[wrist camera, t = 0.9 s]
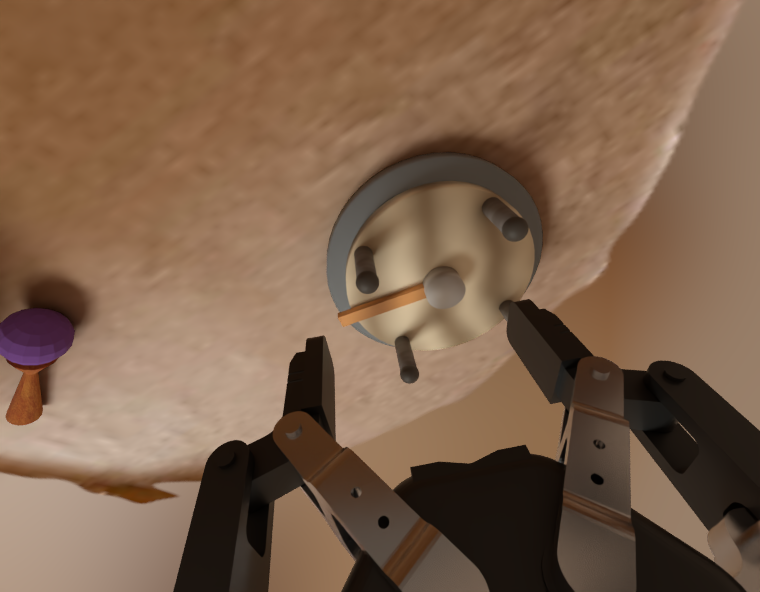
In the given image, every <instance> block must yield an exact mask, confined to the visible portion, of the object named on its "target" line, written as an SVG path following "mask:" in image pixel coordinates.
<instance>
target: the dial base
mask: <svg viewBox="0 0 760 592" xmlns="http://www.w3.org/2000/svg"><path fill="white" fill-rule="evenodd" d="M439 181H460V182H468V183H472V184H476V185H479V186H482V187H484V188H487V189H489V190H491V191H493V192H494V193H496V194H498V195H499V196H501V197H502V198H503V199H504V200H505V201H506V202H508V203H509V204H510V205H511V206H512V207H513V208H515V209H516V210H517V211H518V212H519V214H520V215H521V216H522V217H523V219H525V220H526V222H527V223H528V227H529V229H530V232H531V235H532V238H533V243H534V249H535V260H534V267H533V272H532V275H531V279H530V282H529V284H528V286H529V285H530V283H531V281H532V279H533V277H534V275H535V273H536V270H537V267H538V264H539V261H540V257H541V251H542V238H543V232H542V225H541V219H540V216H539V213H538V210H537V207H536V205H535V203H534V201H533V199H532V198H531V196H530V195H529V193H528V192H527V191H526V189H525V188H524V187H523V186H522V185H521V184H520V183H519V182H518V181H517V180H516V179H515V178H514V177H512V176H511V175H509V174H508V173H506V172H505V171H503V170H502V169H500V168H499V167H497V166H496V165H494V164H493V163H490V162H488V161H486V160H484V159H481V158H479V157H475V156H471V155H467V154H461V153H451V152H444V153H430V154H425V155H419V156H415V157H412V158H409V159H406V160H403V161H400V162H398V163H396V164H394V165H392V166H390V167H387V168H386V169H384V170H382V171H381V172H379V173H378V174H376V175H375V176H373V177H372V178H371V179H369V180H368V181H367V182H366V183H365V184H363V185H362V186H361V187H360V188H359V189H358V190H357V191H356V192H355V193H354V195H353V196H352V197H351V198H350V199H349V200H348V202H347V203H346V205H345V206H344V208H343V209H342V210H341V212H340V214H339V216H338V218H337V220H336V222H335V224H334V226H333V229H332V232H331V235H330V239H329V244H328V250H327V279H328V286H329V289H330V293H331V296H332V298H333V301H334V303H335V305H336V307H337V308H338V310H339V311H340V312H343V311H346V310H348V309H351V307H350V305H349V301H348V297H347V289H346V262H347V257H348V253H349V250H350V247H351V245H352V242H353V240H354V238H355V236H356V235H357V233H358V231H359V229H360V228H361V227H362V225H363V224H364V223H365V221H366V220H367V219H368V218H369V217H370V216H371V215H372V214H373V213H374V212H375V211H376V210H377V209H378V208H379V207H381V206H382V205H383V204H384V203H385V202H387V201H388V200H390V199H392V198H393V197H395V196H396V195H398V194H400V193H402V192H404V191H407V190H409V189H411V188H414V187H417V186H420V185H423V184H428V183H433V182H439ZM528 286H527V288H528ZM526 290H527V289H526ZM525 292H526V291H525ZM525 292H524V293H525ZM350 325H352V326H353V327H354V328H355V329H356V330H357V331H359V332H360V333H362V334H364V335H365V336H367V337H368V338H371V339H373V340H375V341H377V342H380V343H383V344H386V345H389V346H393V345H390V344H387V343H385V342H383V341H381V340H379V339H378V338H376V337H375V336H373V335H372V334H370V333H369V332H368V331H367V330H366V329H365V328H364V327H363V326H362V325H361V324H360V323H359V322H356V323H353V324H350ZM393 347H395V346H393Z"/></svg>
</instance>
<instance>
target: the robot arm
mask: <svg viewBox="0 0 760 592" xmlns="http://www.w3.org/2000/svg"><path fill="white" fill-rule="evenodd" d="M507 337H508V340H509V342H510V344H511V346H512V347H513V349H514V350H515V352H516V353H517V355H518V356H519V357H520V359H521V361H522V362H523V364H524V365H525V366H526V368H527V370H528V371H529V373H530V374H531V376H532V377H533V379H534V380H535V381H536V383H537V384H538V386H539V387H540V389H541V390H542V392H543V393H544V395H545V396H546V398H547V399H548V401H549V402H550V404H553V403H558V402H562V403H563V405H564V406H565V408H564V412H563V418H562V425H561V431H560V437H559V444H558V450H557V455H556V459H555V460H553V459H551V458H548V457H544V456H541V455H535V454H530V453H529V451H528V449H527V447H526V445H522V446H517V447H512V448H506V449H501V450H497V451H495V452H493V453H491V454H489V455H487V456H485V457H483V458H481V459H479V460H477V461H475V462H473V463H470V464H467V463H466V464H465V463H451V462H435V463H430V464H425V465H420V466H415V467H411V475H412V476H411V477H409V478H407V479H406V480H404V481H403V482H401V483H400V484H399V485H398V486H397V487H395V489H394V490H392V489H391V488H390V487H389V486H388V485H387V484H386V483H385V482H384V481H383V480H382V479H381V478H380V477H379V476H378V475H377V474H376V473H374V471H373V470H371V468H369V467H368V466H367V465H366V464H365V463H364V462H363V461H362V460H361V459H360V458H359V457H358V456H357V455H356V454H355V453H354V452H353V451H352V450H351V449H349V448H348V447H345V448H342V447H341V446H340V445H339V444H338V443H337V442H336V433H335V380H334V367H333V362H332V358H331V355H330V352H329V348H328V345H327V341H326V338H325V336H319V337H313V338H308V339H307V340H306V350H305V352H299V353H296V354H295V356H294V357H293V359H292V360H291V362H290V366H289V375H288V381H287V382H288V384H287V389H286V396H285V404H284V411H283V417H282V418H281V419H280V420H279V421H278V422H277V424H276V425H275V427H274V430H273V431H272V432H271V433H270V434H268V435H267V436H265V437H263V438H261V439H259V440H257V441H255V442H253V443H251V444H249V445H246V443H244V442H242V441H239V440H234V441H229V442H227V443H224V444H223V445H221V446H219V447H218V448H217V449H216V450H215V451H214V452H213V453H212V454H211V455H210V457H209V458H208V460H207V462H206V465H205V469H204V473H203V477H202V481H201V485H200V489H199V493H198V497H197V501H196V505H195V508H194V512H193V516H192V520H191V524H190V528H189V532H188V536H187V540H186V544H185V548H184V552H183V556H182V560H181V564H180V568H179V572H178V576H177V579H176V584H175V587H174V591H173V592H268V586H269V572H270V557H271V543H272V529H273V514H274V501H275V500H276V499H278V498H280V497H282V496H283V495H285V494H287V493H289V492H290V491H292V490H294V489H296V488H297V487H300V488H301V489H302V491H303V492H304V493H305V495H306V496H307V497H308V498H309V500H310V501H311V502H312V504H313V505H314V506H315V507H316V509H317V510H318V511H319V513H320V514H321V515H322V517H323V518H324V519H325V520H326V522H327V523H328V525H329V526H330V528H331V529H332V531H333V532H334V534H335V535H336V537H337V538H338V539H339V541H340V542H341V544H342V545H343V546H344V547H345V549H346V550H347V551H348V553H349V554H350V555H351V557H352V558H353V559H354V560H355V564H354V566H353V568H352V571H351V573H350V575H349V577H348V579H347V581H346V583H345V585H344V587H343V589H342V591H341V592H760V431H759V430H758V429H757V428H756V427H755V426H754V425H752V424H751V423H750V422H749V421H748V420H747V419H746V418H745V417H744V416H742V415H741V414H740V413H739V412H738V411H737V410H736V409H735V408H734V407H732V406H731V405H730V404H729V403H728V402H727V401H726V400H724V399H723V398H722V397H721V396H720V395H719V394H718V393H717V392H715V391H714V390H713V389H712V388H711V387H710V386H709V385H708V384H706V383H705V382H704V381H703V380H702V379H701V378H700V377H699V376H697V375H696V374H695V373H694V372H693V371H692V370H690V369H689V368H687V367H685V366H683V365H681V364H677V363H675V362H671V361H656V362H653V363H652V364H651V365H650V366H649V368H648V370H647V371H639V370H638V371H637V370H625V369H620V368H619V367H618V366H617V365H616V364H615V363H613V362H612V361H610V360H607V359H605V358H602V357H596V356H593V355H592V353H591V352H590V351H589V350H588V349H587V348H586V347H585V346H584V345H583V344H582V343H581V342H580V341H579V340H578V338H577V337H576V336H575V335H574V334H573V333H572V332H570V330H569V329H568V328H567V327H566V326H565V325H563V322H562V321H561V320H560V319H559V318H558V317H557V316H556V315H555V314H553V313H551V312H549V311H547V310H546V309H539V308H538V307H537V306H536V305H535V304H534V303H533V302H532V301H531V300H530V299H527V300H522V301H516V302H511V303H510V306H509V314H508V322H507ZM678 422H679V423H680V424H681V425H682V426H683V427H684V428H685V429H686V430H687V431H688V432H689V433H690V434H691V436H692V437H693V438H694V439H695V440H696V442H697V443H696V442H695V441H694V440H693V438H692V437H691V436H690V435H689V434H688V433H687V432H686V431H685V430H684V429H683V428H682V426H681V425H680V424H679V423H678ZM630 429H631V431H632V432H633V433H634V434H635V436H636V437H637V438H638V440H639V441H640V442H641V444H642V445H643V446H644V447H645V449H646V450H647V451H648V453H649V454H650V455H651V457H652V458H653V459H654V461H655V462H656V463H657V464H658V466H659V467H660V468H661V470H662V471H663V472H664V473H665V475H666V476H667V477H668V479H669V480H670V481H671V482H672V484H673V485H674V487H675V488H676V489H677V490H678V492H679V493H680V494H681V496H682V497H683V498H684V500H685V501H686V502H687V503H688V505H689V506H690V507H691V509H692V510H693V511H694V512H695V514H696V515H697V516H698V518H699V519H700V520H701V522H702V523H703V524H704V526H705V527H706V528H707V529H708V531H709V533H708V536H707V539H708V545H709V547H710V549H711V552H712V553H713V555H714V561H715V562H713V561H712V560H710V559H709V558H708V557H706V556H704V555H703V554H701V553H700V552H698V551H697V550H695V549H694V548H692V547H691V546H689V545H687V544H686V543H684V542H683V541H681V540H680V539H678V538H677V537H675V536H673V535H672V534H670V533H669V532H667V531H666V530H664V529H663V528H661V527H660V526H658V525H657V524H655V523H653V522H652V521H650V520H649V519H647V518H646V517H644V516H643V515H641V514H640V513H638V512H637V511H635V510H633V509H632V508H631V493H630V492H631V490H630Z"/></svg>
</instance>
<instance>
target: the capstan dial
mask: <svg viewBox="0 0 760 592" xmlns="http://www.w3.org/2000/svg"><path fill="white" fill-rule="evenodd" d="M534 260H535V249H534V243H533V238H532V235H531V232H530V229H529V227H528V223H527V222H526V220H525V219H523V217H522V216H521V215H520V214H519V212H518V211H517V210H516V209H515V208H513V207H512V206H511V205H510V204H509V203H508V202H506V201H505V200H504V199H503V198H502V197H501V196H499V195H498V194H496V193H494V192H493V191H491V190H489V189H487V188H484V187H482V186H479V185H476V184H472V183H468V182H460V181H439V182H433V183H428V184H423V185H420V186H417V187H414V188H411V189H409V190H407V191H404V192H402V193H400V194H398V195H396V196H395V197H393V198H392V199H390V200H388V201H387V202H385V203H384V204H383V205H382V206H381V207H379V208H378V209H377V210H376V211H375V212H374V213H373V214H372V215H371V216H370V217H369V218H368V219H367V220H366V221H365V223H364V224H363V225H362V227H361V228H360V229H359V231H358V233H357V235H356V236H355V238H354V240H353V242H352V245H351V247H350V250H349V253H348V257H347V262H346V289H347V297H348V301H349V305H350V307H351V309H348V310H346V311H343V312H340V313H338V319H339V320H340V322H341V324H342V326H343V327H345V326H347V325H350V324H353V323H356V322H359V323H360V324H361V325H362V326H363V327H364V328H365V329H366V330H367V331H368V332H369V333H370V334H372V335H373V336H375V337H376V338H378V339H379V340H381V341H383V342H385V343H387V344H390V345H393V346H395V348H396V353H397V357H398V362H399V367H400V376H401V379H402V380H403V381H404V382H406V383H414V382H415V381H417V379H418V377H419V371H418V369H417V367H416V363H415V359H414V356H413V352H412V350H418V351H429V350H439V349H445V348H450V347H453V346H457V345H460V344H463V343H466V342H468V341H471V340H473V339H475V338H477V337H479V336H481V335H482V334H484V333H486V332H487V331H489V330H490V329H492V328H493V327H494V326H496V325H497V324H498V323H500V322H501V321H502V320H503V319H504V318H505V320H506V321H507V322H508V314H509V306H510V303H511V302H516V301H520V299H521V298H522V296H523V294H524V292H525V291H526V289H527V286H528V284H529V282H530V279H531V275H532V272H533V267H534Z"/></svg>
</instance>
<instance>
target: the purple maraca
mask: <svg viewBox="0 0 760 592" xmlns="http://www.w3.org/2000/svg"><path fill="white" fill-rule="evenodd" d="M74 333H75V330H74V328H73V326H72V324H71V322H70V321H69V320H68V319H67V318H66V317H65V316H64V315H62V314H61V313H59V312H56V311H53V310H50V309H42V308H32V309H24V310H21V311H18V312H16V313H13V314H11V315H10V316H8V317H7V318H6V319H5V320H4V321H2V322H1V323H0V354H1V355H2V356H4V357H5V358H6V360H7V362H8V363H9V364H10V365H12V366H13V367H15V368H16V369H18V370H20V371H22V372H24V373H23V375H22V378H21V380H20V382H19V385H18V387H17V389H16V392H15V394H14V396H13V399H12V401H11V403H10V406H9V408H8V410H7V413H6V419H7V421H8V422H10V423H11V424H14V425H27V424H29V423H32V422H34V421H36V420H37V419H39V417H40V416H41V415H42V411H43V407H42V399H41V391H40V383H39V375H38V372H39V371H41V370H42V369H44V368H46V367H48V366H49V365H51V364H53V363H54V362H55V361H56V360H57V359H58V358H59V357H60V356H62V355H63V354H65V353H66V352H67V351H68V349H69V348H70V347H71V346H72V343H73V339H74Z"/></svg>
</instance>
